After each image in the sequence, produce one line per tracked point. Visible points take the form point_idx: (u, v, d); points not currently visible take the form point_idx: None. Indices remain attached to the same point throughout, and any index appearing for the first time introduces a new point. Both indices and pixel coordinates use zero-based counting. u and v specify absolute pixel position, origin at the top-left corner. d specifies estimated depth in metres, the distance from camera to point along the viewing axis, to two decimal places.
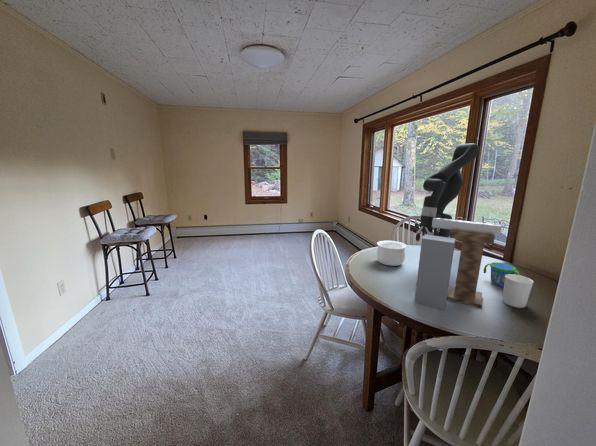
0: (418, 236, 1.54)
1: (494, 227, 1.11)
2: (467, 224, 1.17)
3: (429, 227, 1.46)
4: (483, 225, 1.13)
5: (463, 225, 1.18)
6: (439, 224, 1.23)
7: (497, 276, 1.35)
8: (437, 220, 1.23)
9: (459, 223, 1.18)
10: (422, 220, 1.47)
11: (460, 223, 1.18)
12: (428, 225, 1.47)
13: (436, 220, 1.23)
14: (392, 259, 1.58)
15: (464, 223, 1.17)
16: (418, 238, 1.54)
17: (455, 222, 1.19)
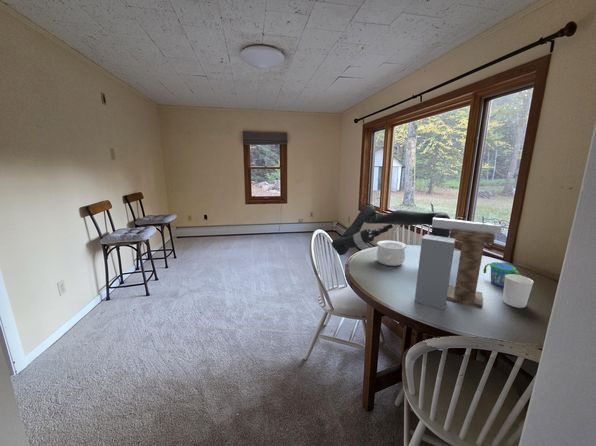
0: (387, 228, 1.45)
1: (494, 227, 1.11)
2: (467, 224, 1.17)
3: None
4: (483, 225, 1.13)
5: (463, 225, 1.18)
6: (439, 224, 1.23)
7: (497, 276, 1.35)
8: (437, 220, 1.23)
9: (459, 223, 1.18)
10: None
11: (460, 223, 1.18)
12: None
13: (436, 220, 1.23)
14: (392, 259, 1.58)
15: (464, 223, 1.17)
16: (389, 226, 1.45)
17: (455, 222, 1.19)
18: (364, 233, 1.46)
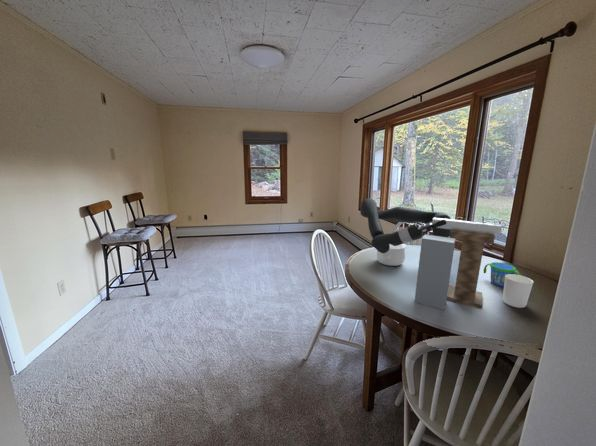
0: None
1: (494, 227, 1.11)
2: (467, 224, 1.17)
3: None
4: (483, 225, 1.13)
5: (463, 225, 1.17)
6: None
7: (497, 276, 1.35)
8: (437, 220, 1.23)
9: (459, 223, 1.18)
10: None
11: (460, 223, 1.18)
12: (421, 232, 1.28)
13: (436, 220, 1.23)
14: (392, 259, 1.58)
15: (464, 223, 1.17)
16: None
17: (455, 222, 1.19)
18: (412, 229, 1.29)
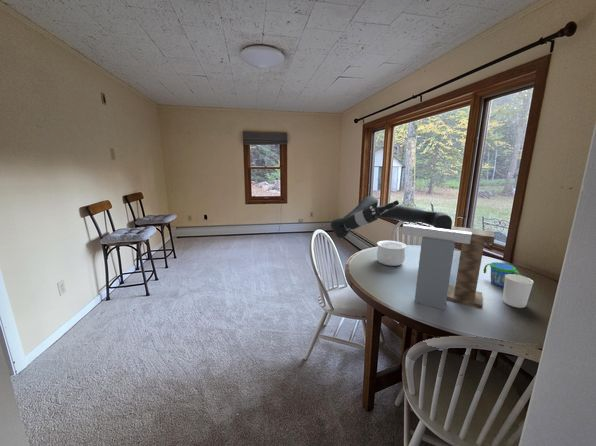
0: None
1: (464, 235, 1.06)
2: (437, 231, 1.11)
3: (377, 214, 1.27)
4: (453, 233, 1.08)
5: (433, 232, 1.12)
6: (409, 231, 1.17)
7: (497, 276, 1.35)
8: (407, 227, 1.17)
9: (429, 230, 1.13)
10: None
11: (430, 230, 1.12)
12: None
13: (406, 227, 1.18)
14: (392, 259, 1.58)
15: (434, 230, 1.12)
16: (395, 203, 1.28)
17: (425, 229, 1.14)
18: (367, 211, 1.29)
